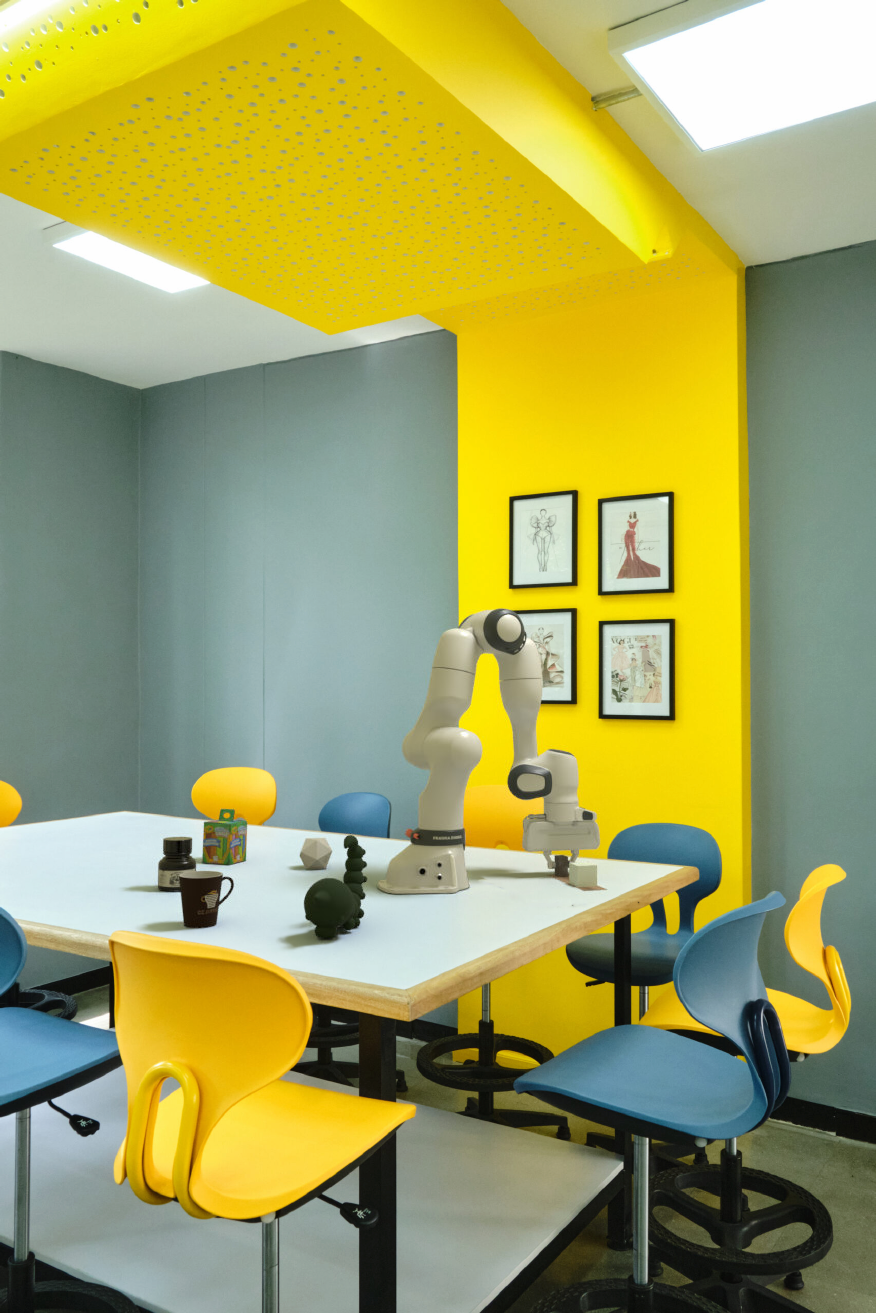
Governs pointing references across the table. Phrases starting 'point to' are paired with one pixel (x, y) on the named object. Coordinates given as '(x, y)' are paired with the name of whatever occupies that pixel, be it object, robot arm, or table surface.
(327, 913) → the toy figurine
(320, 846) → the die
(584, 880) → the cube
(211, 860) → the chalk box
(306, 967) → the table surface
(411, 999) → the table surface
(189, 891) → the coffee mug
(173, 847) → the ink bottle
